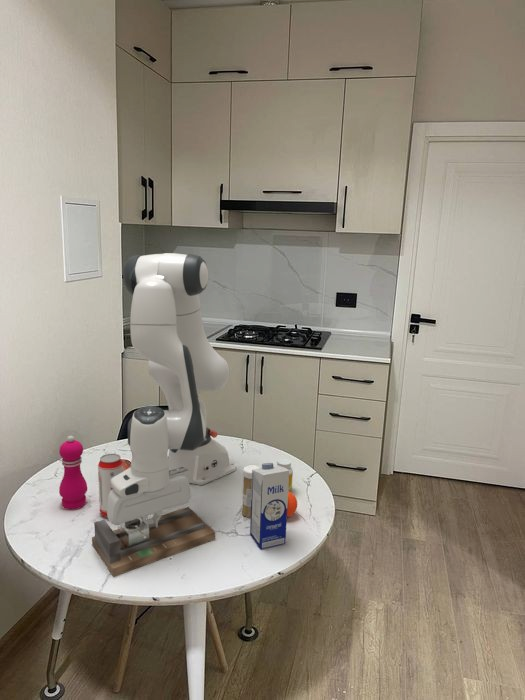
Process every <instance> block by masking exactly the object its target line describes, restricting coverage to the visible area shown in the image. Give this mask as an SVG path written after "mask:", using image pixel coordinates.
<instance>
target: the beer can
mask: <svg viewBox="0 0 525 700" xmlns="http://www.w3.org/2000/svg"><path fill="white" fill-rule="evenodd" d="M97 471H98V474H97V476H98V477H97V478H98V497H99V500H98V501H99V512H100V513H99V514H100V515H101V516H103V517H105V518H107V519H108V516H107V502H108V496H109V493H110V491H111V490H112V489H113V488H112V486H111V484H110V481H111V479H112V478H113V477H115V476H116V475H118V474H120V473H122V472H123V471H124V463H123V461H122V458H121V455H120V454H117V453H106V454H104V455H102V456H100V458H99V462H98V464H97Z"/></svg>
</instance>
